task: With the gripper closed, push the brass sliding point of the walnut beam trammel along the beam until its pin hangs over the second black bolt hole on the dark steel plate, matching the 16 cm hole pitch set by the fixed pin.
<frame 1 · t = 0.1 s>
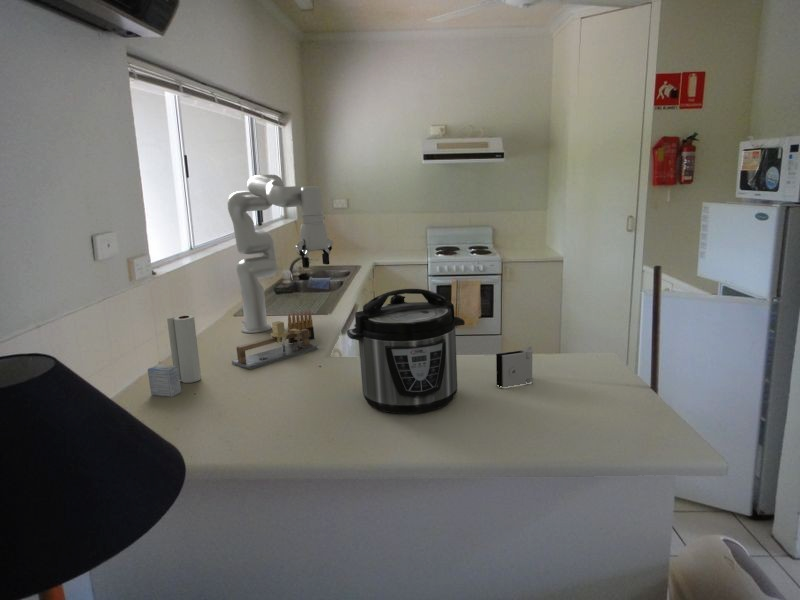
hand: (316, 265, 215), 31 cm above the countertop, fingers open, 9 cm apart
sliding point: (279, 336, 210), point 7 cm above the countertop, slide at 1.0 cm
bolt-hole plate: (275, 355, 211), on the countertop
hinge: (517, 383, 172), on the countertop
pale blue-grey upright block: (166, 394, 176), on the countertop
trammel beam: (276, 344, 209), on the bolt-hole plate, point 5 cm above the countertop
ammunition clip: (301, 341, 230), on the countertop
pressure cooker: (410, 400, 162), on the countertop
paper towel roll: (190, 380, 188), on the countertop
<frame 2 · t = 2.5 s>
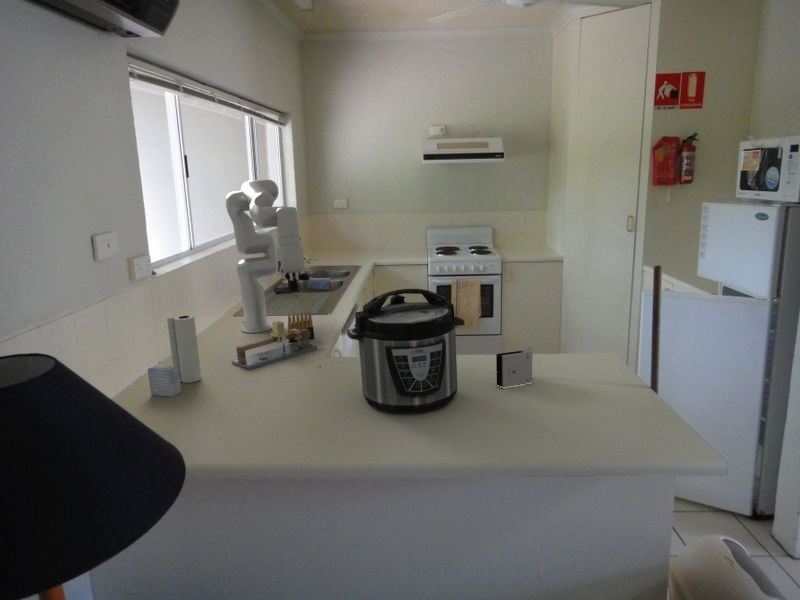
hand: (293, 290, 213), 23 cm above the countertop, fingers closed
nothing on the countertop moved.
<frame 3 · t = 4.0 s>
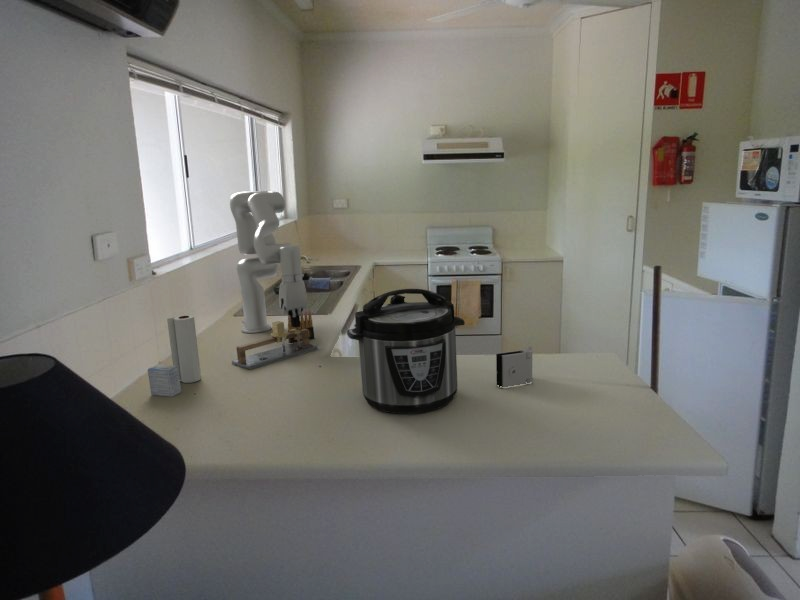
hand: (295, 326, 216), 9 cm above the countertop, fingers closed
nothing on the countertop moved.
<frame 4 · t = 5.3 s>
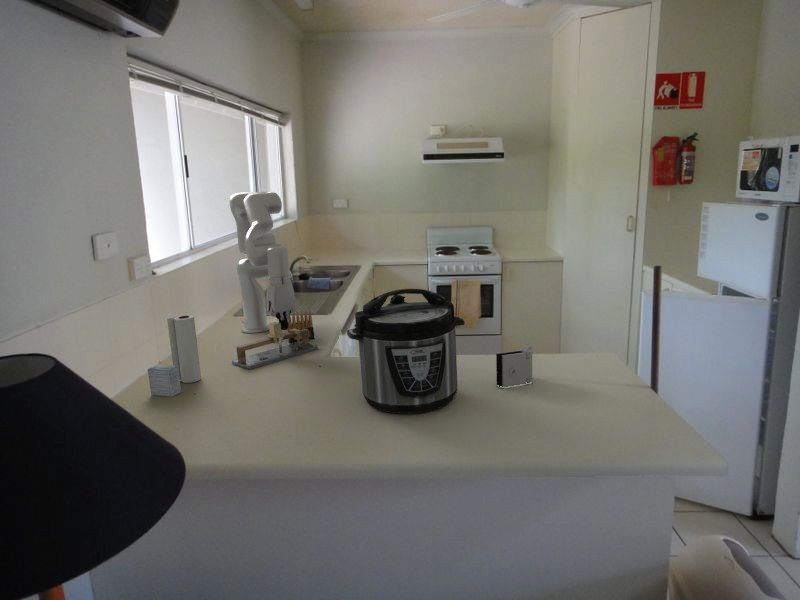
hand: (284, 329, 212), 9 cm above the countertop, fingers closed
sliding point: (276, 337, 209), point 7 cm above the countertop, slide at 2.5 cm, touching gripper
everything else where it was.
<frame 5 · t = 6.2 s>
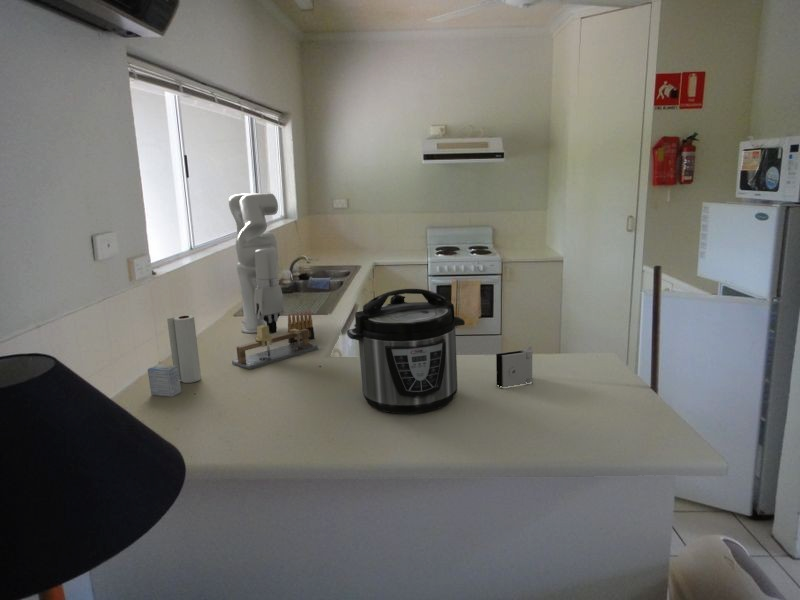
hand: (272, 332, 208), 9 cm above the countertop, fingers closed
sliding point: (264, 340, 206), point 7 cm above the countertop, slide at 7.6 cm, touching gripper
everything else where it was.
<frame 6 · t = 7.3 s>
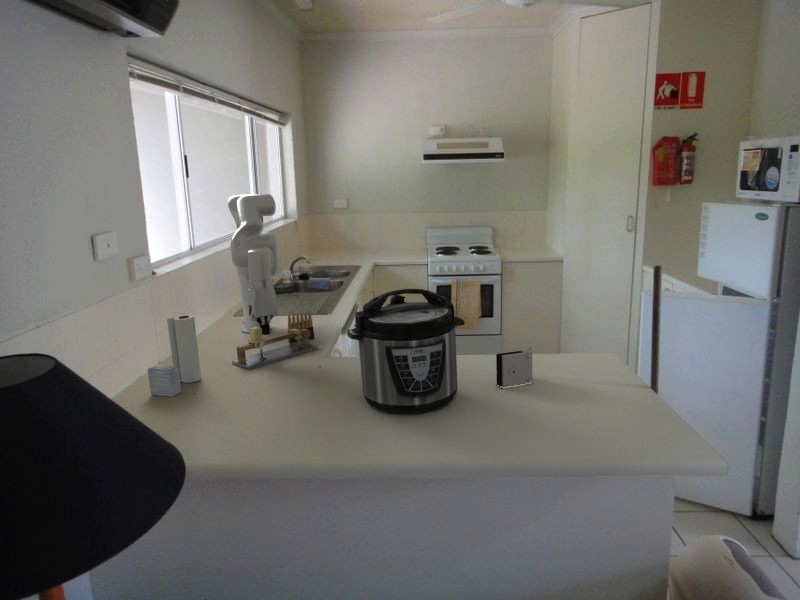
hand: (265, 334, 206), 9 cm above the countertop, fingers closed
sliding point: (257, 342, 203), point 7 cm above the countertop, slide at 10.6 cm, touching gripper
everything else where it was.
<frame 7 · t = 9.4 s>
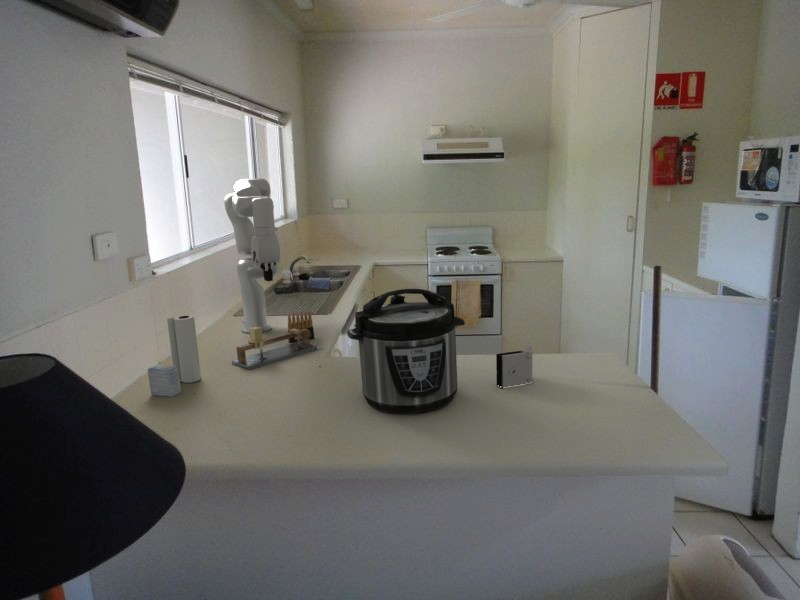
hand: (268, 280, 215), 27 cm above the countertop, fingers closed
sliding point: (257, 342, 203), point 7 cm above the countertop, slide at 10.6 cm
everything else where it was.
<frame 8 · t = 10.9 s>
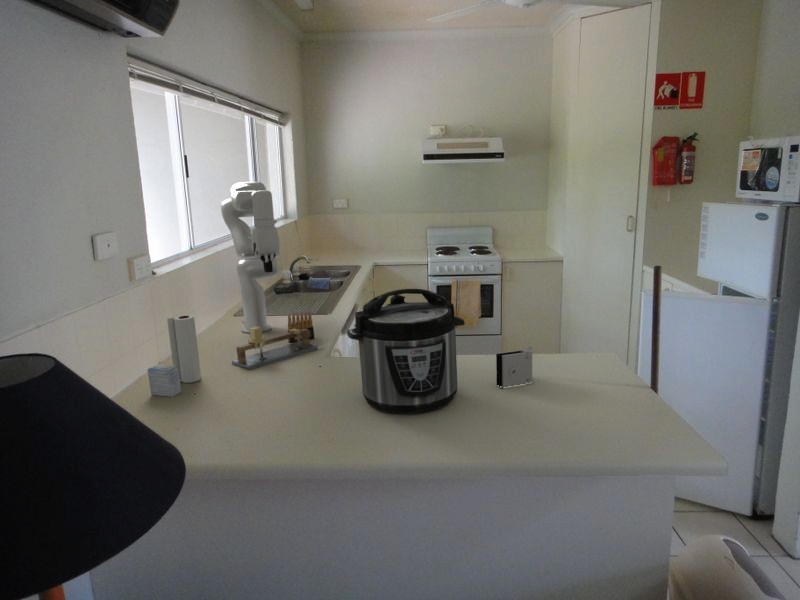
hand: (268, 271, 220), 29 cm above the countertop, fingers closed
nothing on the countertop moved.
at the end: sliding point slide at 10.6 cm; the gripper is holding nothing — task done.
